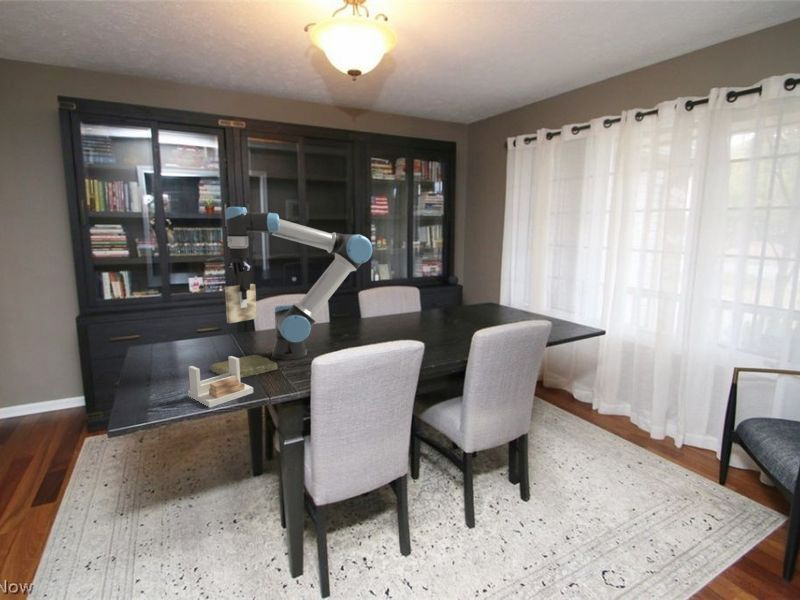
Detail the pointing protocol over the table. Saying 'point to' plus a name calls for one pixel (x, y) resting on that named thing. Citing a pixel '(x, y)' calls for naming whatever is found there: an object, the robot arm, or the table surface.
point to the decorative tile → (246, 366)
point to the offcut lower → (227, 391)
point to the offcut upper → (224, 384)
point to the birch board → (233, 304)
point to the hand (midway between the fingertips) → (241, 307)
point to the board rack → (201, 388)
